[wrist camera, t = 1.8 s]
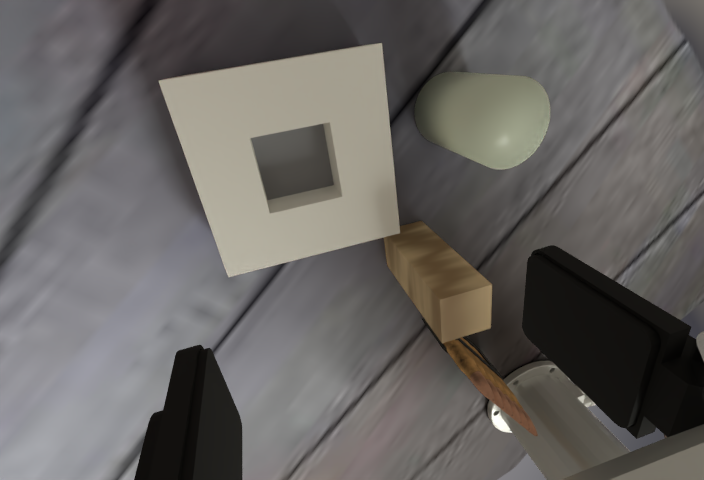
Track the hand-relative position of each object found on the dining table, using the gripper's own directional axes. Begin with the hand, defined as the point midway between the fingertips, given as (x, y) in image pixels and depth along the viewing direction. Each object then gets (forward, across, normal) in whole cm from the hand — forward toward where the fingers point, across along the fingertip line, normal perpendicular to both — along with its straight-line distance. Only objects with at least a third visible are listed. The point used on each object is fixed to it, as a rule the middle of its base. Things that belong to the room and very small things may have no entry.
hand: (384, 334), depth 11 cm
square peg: (+23, -9, +11) cm, 27 cm away
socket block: (+23, 0, 0) cm, 23 cm away
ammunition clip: (+24, -14, +25) cm, 37 cm away
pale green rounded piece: (+23, -14, -1) cm, 27 cm away
